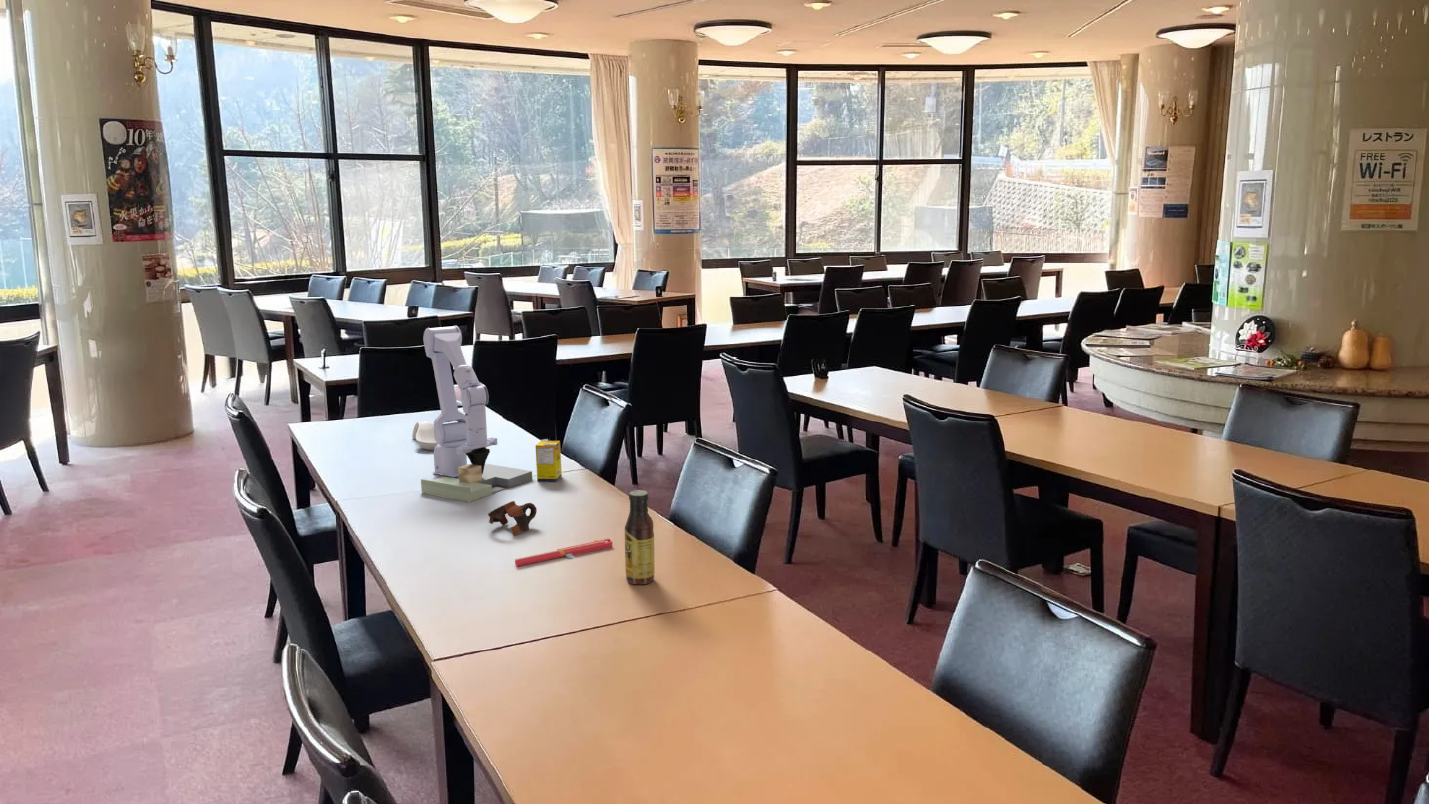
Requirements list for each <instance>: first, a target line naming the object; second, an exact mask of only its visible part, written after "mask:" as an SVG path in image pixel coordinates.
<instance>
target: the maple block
mask: <svg viewBox="0 0 1429 804" xmlns="http://www.w3.org/2000/svg"><path fill="white" fill-rule="evenodd" d="M458 473H459V476H458V479H459V481H461V482H466V483H473V482H476V481H479V480H482V470H481V466H479V465H473V464H471V463H467V465H465V466H461V467H458Z"/></svg>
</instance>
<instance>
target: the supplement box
mask: <svg viewBox="0 0 1429 804" xmlns="http://www.w3.org/2000/svg"><path fill="white" fill-rule="evenodd" d="M561 454H562V453H561V441H560V440H541V441H539V442H537V444H536V445H535V460H536V461H535V462H536V477H537V478H536V480H537V482H558V481H559V480H560V478H562V475H563V474H562V455H561Z"/></svg>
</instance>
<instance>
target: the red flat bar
mask: <svg viewBox="0 0 1429 804" xmlns="http://www.w3.org/2000/svg"><path fill="white" fill-rule="evenodd" d="M613 543H614V542H613V541H612V540H611V539H610V538H606V539H605V538H604V539H600V540H598V539H594V541H590V542H587V543H581V544H577V545H571V546H567V547H562V548H558V549H556V550H552V551H548V552H547V551H546V552H543V553H538V554H533V555H532V554H531V555H528V556H524V557H519V558H515V559H514V564H515V566H516V567H521V566H525V565H526V566H527V565H531V564H535V563H539V562H545V561H549V560H553V559H558V558H559V559H560V558H561V557H565V558H567V559H572V560H573V559H575V558H576V556H577V555H580V554H586V553H590V552H595V551H598V550H603V549H609V548H612V547H613ZM575 555H576V556H575Z"/></svg>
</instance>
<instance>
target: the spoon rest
mask: <svg viewBox="0 0 1429 804" xmlns="http://www.w3.org/2000/svg"><path fill="white" fill-rule="evenodd" d="M411 437H412V439H415V441H416V443H417V444H418V446H420V447H421V448H423V449H425V450H427V451H434V449H435V447H436V446H437V445H438V443H437V442H436V440H435V437H434V423H432V422H430V421H428V420H424V421H417V422H416V423H415V424H414V427H413V430H412V435H411Z"/></svg>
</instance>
